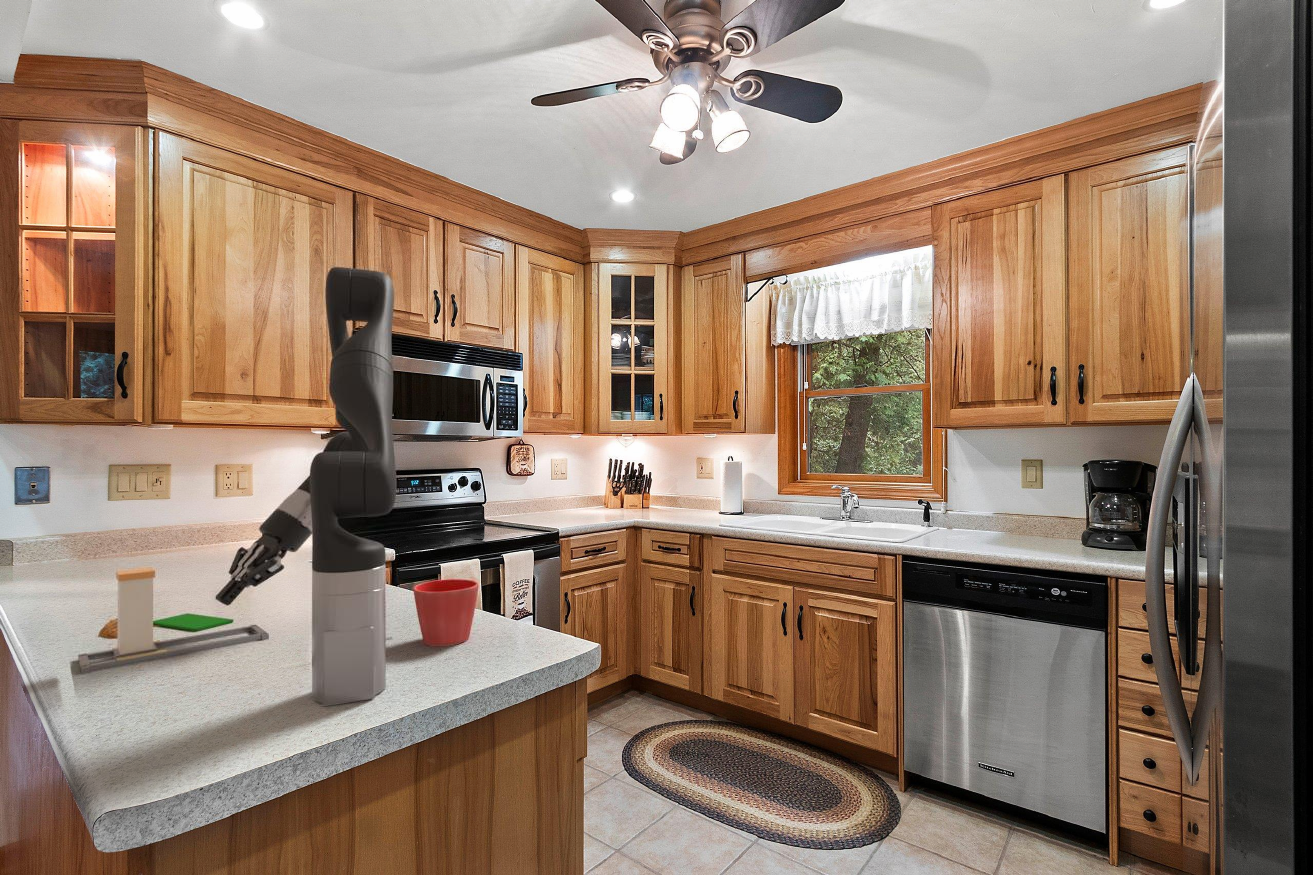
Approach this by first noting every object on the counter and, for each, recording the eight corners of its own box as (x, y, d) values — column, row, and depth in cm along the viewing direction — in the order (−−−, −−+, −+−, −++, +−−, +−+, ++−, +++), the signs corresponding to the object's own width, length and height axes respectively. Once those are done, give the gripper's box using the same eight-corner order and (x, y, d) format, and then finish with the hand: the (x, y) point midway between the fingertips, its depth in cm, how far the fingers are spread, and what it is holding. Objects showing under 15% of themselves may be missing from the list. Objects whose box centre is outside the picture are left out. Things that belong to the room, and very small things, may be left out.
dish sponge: (195, 642, 115) (195, 628, 115) (148, 634, 121) (148, 621, 121) (234, 631, 122) (234, 618, 122) (188, 625, 127) (188, 612, 127)
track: (255, 636, 117) (255, 623, 117) (268, 646, 110) (268, 632, 110) (78, 668, 100) (78, 653, 100) (81, 683, 94) (81, 666, 94)
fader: (153, 649, 105) (153, 567, 105) (157, 656, 101) (157, 570, 102) (113, 656, 102) (113, 571, 102) (116, 663, 98) (116, 575, 98)
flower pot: (482, 644, 110) (482, 587, 111) (414, 652, 106) (413, 593, 107) (475, 628, 120) (475, 576, 121) (413, 635, 116) (412, 581, 117)
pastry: (147, 643, 114) (147, 621, 114) (97, 651, 110) (97, 629, 110) (145, 632, 122) (145, 612, 122) (98, 639, 117) (98, 618, 117)
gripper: (262, 503, 119) (186, 582, 110) (299, 512, 112) (221, 598, 103) (291, 526, 124) (221, 605, 115) (329, 537, 117) (257, 622, 107)
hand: (221, 602), depth 109 cm, fingers closed
